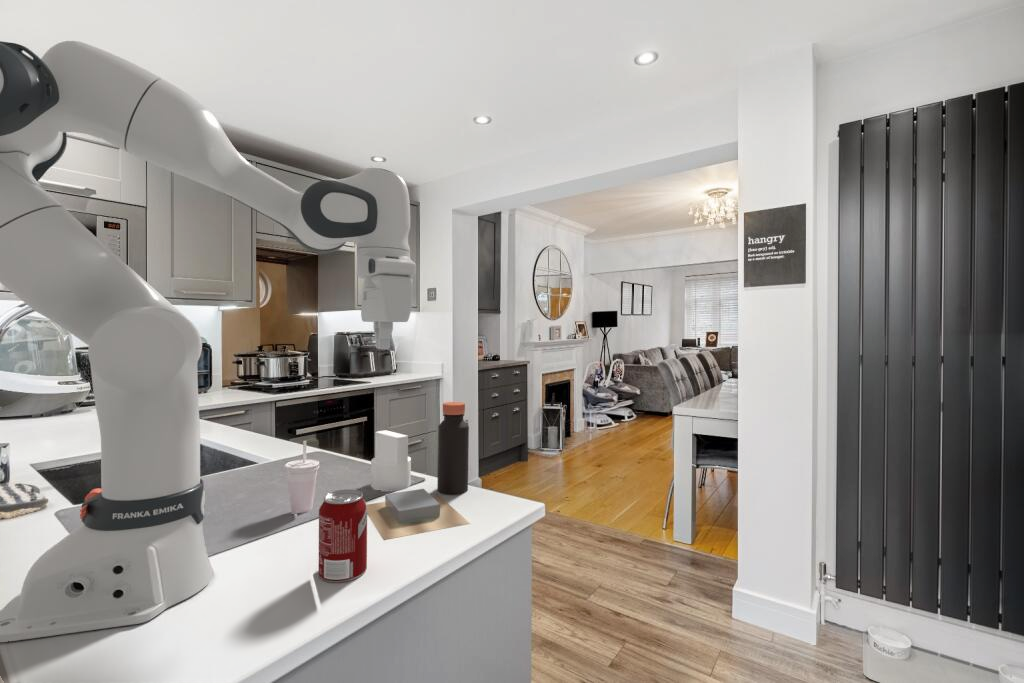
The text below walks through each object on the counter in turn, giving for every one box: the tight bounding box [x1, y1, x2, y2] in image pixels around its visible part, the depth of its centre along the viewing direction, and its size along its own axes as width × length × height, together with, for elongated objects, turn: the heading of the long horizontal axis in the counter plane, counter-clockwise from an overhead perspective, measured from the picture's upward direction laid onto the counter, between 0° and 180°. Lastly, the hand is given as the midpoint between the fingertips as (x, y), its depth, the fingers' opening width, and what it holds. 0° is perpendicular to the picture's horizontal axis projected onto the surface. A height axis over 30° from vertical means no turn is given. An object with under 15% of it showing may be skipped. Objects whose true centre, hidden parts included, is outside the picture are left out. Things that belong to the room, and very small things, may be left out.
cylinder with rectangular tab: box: [370, 429, 412, 492], centre depth 114 cm, size 9×9×12 cm
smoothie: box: [284, 440, 320, 514], centre depth 97 cm, size 6×6×14 cm
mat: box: [367, 493, 471, 541], centre depth 95 cm, size 16×18×1 cm
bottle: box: [437, 401, 470, 496], centre depth 110 cm, size 7×7×20 cm
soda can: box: [318, 488, 368, 584], centre depth 73 cm, size 7×7×12 cm
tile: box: [384, 488, 440, 524], centre depth 96 cm, size 8×2×10 cm
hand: (382, 349), depth 84 cm, fingers closed
